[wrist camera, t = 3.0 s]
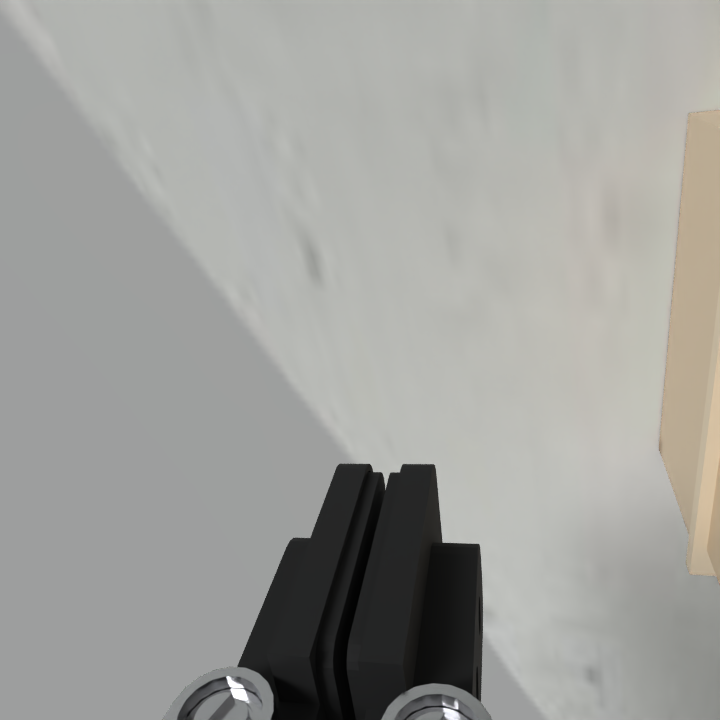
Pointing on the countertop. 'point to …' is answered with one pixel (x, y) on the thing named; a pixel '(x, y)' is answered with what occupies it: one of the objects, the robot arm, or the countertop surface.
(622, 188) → the countertop surface
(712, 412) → the lid
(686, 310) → the mailer box
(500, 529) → the countertop surface
